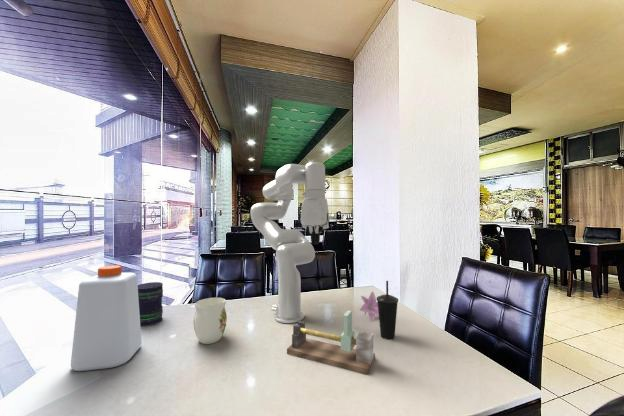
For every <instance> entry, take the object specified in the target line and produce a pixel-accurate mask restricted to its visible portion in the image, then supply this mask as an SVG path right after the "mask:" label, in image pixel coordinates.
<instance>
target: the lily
mask: <svg viewBox="0 0 624 416" xmlns="http://www.w3.org/2000/svg"><path fill="white" fill-rule="evenodd" d="M360 298H361V300H362V301H363V303H364V304H363V305H361V307H360V308H359V311H361V312H364V315H366V314H367V313H368V316H369V319H370V322H373V321H374V319H375V317H378V318H379V312H378V302H377V297H376V295H375V292H374V291H371V292H370V293H369V297H368V298H367V297H366V296H364V295H360Z"/></svg>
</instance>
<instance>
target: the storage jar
mask: <svg viewBox="0 0 624 416" xmlns="http://www.w3.org/2000/svg"><path fill="white" fill-rule="evenodd" d="M137 285H138V299H139V314H140V327H148V326H152V325H156V324H159V323H160V322H162V321H163V312H164V310H163V296H164V294H163V292H164V290H163V288H164V287H163V282H160V281H159V282H158V281H154V282H152V281H151V282H145V283H141V284H137Z"/></svg>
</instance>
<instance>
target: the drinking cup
mask: <svg viewBox="0 0 624 416" xmlns="http://www.w3.org/2000/svg"><path fill="white" fill-rule="evenodd" d="M385 288H386V289H385V292H386V294H381V295H379V296H377V297H376V302H378V312H379V317H378V321H379V322H378V323H379V331H380V337H381V338H382V339H383V340H387V341H388V340H394V339H395V334H396V324H397V315H398V314H397V313H398V304H399V298H398V297H396V296H393V295H392V294H389V280H386V282H385Z"/></svg>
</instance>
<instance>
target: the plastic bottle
mask: <svg viewBox="0 0 624 416" xmlns="http://www.w3.org/2000/svg"><path fill="white" fill-rule="evenodd" d="M138 285H139V284H138V276H137V274H136V273H135V272H123V266H122V265H106V266H101V267H98V269H97V275H94V276H91V277H88V278H86V279H84V280H82V281H81V282H80V283H79V284H78V293H77V302H76V311H75V320H74V330H73V339H72V351H71V356H70V357H71V359H70V368H71V369H72V370H73V371H76V372H84V371H94V370H95V371H96V370H102V369H103V370H104V369H111V368H116V367H119V366H122V365H123V364H126V363H127V362H128V361H130V359H132V357H133V356H134V355H135V354H136V352H138V351H139V349H140V347H141V346H142V330H141V329H142V328H141V326H140V314H139V299H138Z"/></svg>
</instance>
